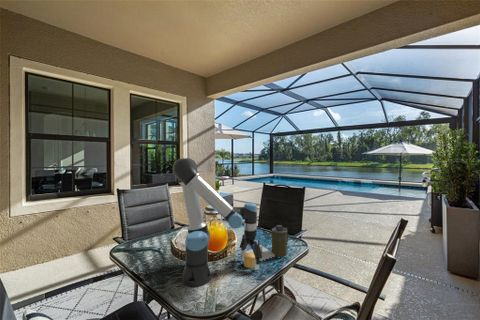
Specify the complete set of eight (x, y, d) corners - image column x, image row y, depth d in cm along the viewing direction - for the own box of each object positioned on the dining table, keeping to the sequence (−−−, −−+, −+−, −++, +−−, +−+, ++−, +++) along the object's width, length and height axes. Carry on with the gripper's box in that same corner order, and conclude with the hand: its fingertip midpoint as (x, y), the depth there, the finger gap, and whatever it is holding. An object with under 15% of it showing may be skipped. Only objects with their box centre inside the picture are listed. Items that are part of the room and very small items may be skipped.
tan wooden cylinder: (248, 269, 128) (248, 258, 128) (241, 264, 134) (242, 254, 134) (258, 265, 132) (258, 255, 132) (251, 261, 138) (251, 251, 138)
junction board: (256, 262, 136) (256, 252, 136) (243, 254, 148) (243, 244, 147) (275, 256, 145) (276, 246, 145) (262, 249, 156) (262, 240, 156)
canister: (275, 260, 141) (276, 228, 141) (268, 253, 151) (269, 224, 151) (290, 257, 145) (291, 227, 144) (282, 251, 154) (283, 222, 154)
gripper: (268, 234, 125) (268, 271, 125) (244, 223, 145) (243, 255, 145) (258, 236, 121) (257, 275, 121) (234, 225, 141) (234, 258, 141)
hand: (250, 264), depth 133 cm, fingers open, 12 cm apart
